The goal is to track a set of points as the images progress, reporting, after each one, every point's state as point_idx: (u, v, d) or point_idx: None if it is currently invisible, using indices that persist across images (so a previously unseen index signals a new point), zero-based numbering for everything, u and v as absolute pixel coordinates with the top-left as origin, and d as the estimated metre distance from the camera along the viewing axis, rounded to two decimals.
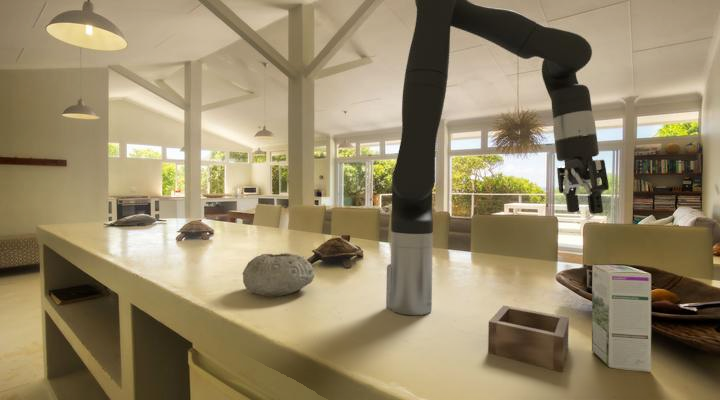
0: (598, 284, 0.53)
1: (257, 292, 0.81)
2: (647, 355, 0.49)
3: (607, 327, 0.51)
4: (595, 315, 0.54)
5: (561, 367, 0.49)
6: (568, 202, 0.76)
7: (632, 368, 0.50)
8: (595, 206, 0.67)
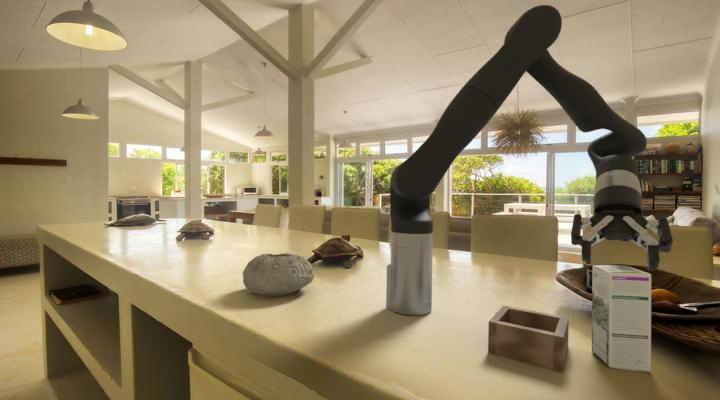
0: (598, 284, 0.53)
1: (257, 292, 0.81)
2: (647, 355, 0.49)
3: (607, 327, 0.51)
4: (595, 315, 0.54)
5: (561, 367, 0.49)
6: (590, 248, 0.61)
7: (632, 368, 0.50)
8: (659, 259, 0.55)
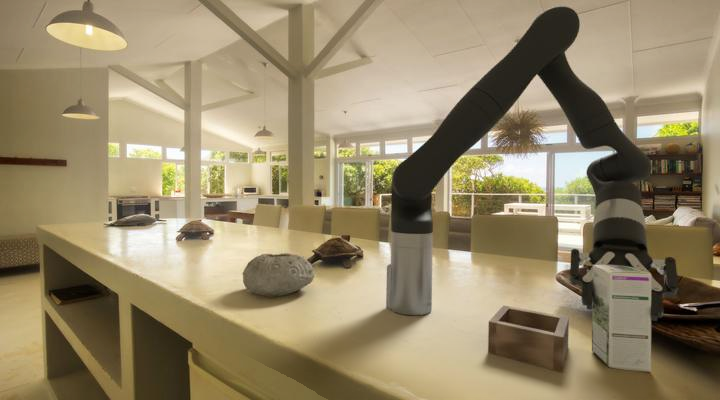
0: (598, 284, 0.53)
1: (257, 292, 0.81)
2: (647, 355, 0.49)
3: (607, 327, 0.51)
4: (595, 315, 0.54)
5: (561, 367, 0.49)
6: (591, 291, 0.54)
7: (632, 368, 0.50)
8: (663, 308, 0.49)
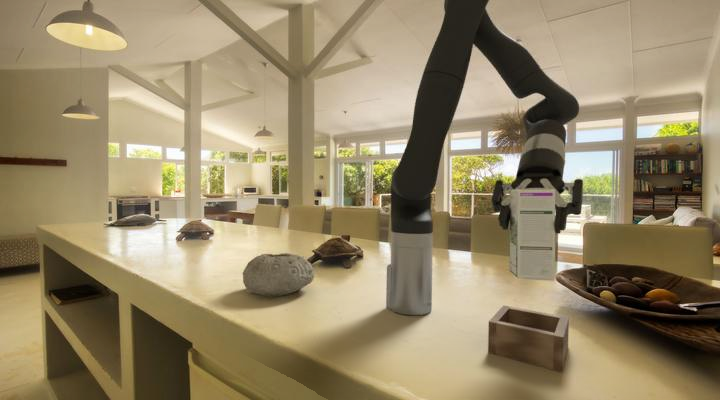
0: (512, 205, 0.57)
1: (257, 292, 0.81)
2: (551, 265, 0.53)
3: (516, 241, 0.54)
4: (511, 235, 0.58)
5: (561, 367, 0.49)
6: (507, 213, 0.58)
7: (538, 278, 0.54)
8: (565, 220, 0.53)
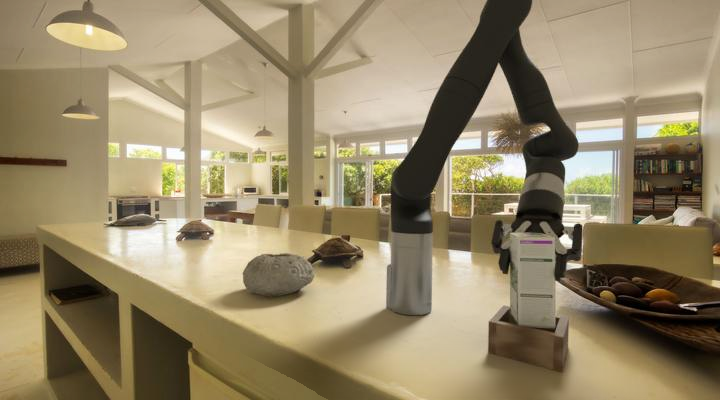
0: (512, 250, 0.57)
1: (257, 292, 0.81)
2: (552, 313, 0.53)
3: (516, 288, 0.54)
4: (511, 279, 0.58)
5: (561, 367, 0.49)
6: (507, 257, 0.58)
7: (539, 325, 0.54)
8: (565, 269, 0.53)
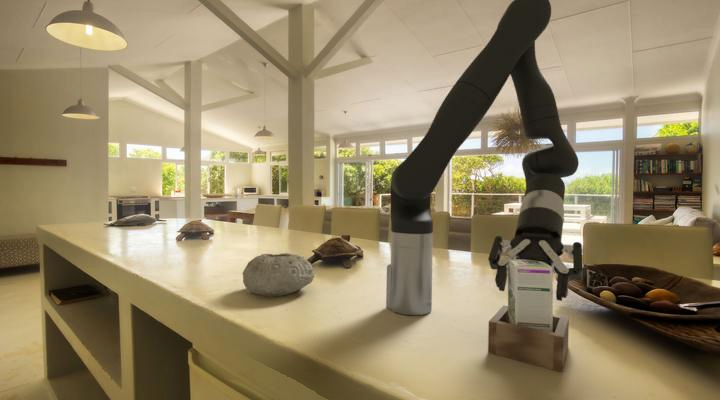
0: (510, 277, 0.57)
1: (257, 292, 0.81)
2: None
3: (514, 316, 0.55)
4: (509, 306, 0.58)
5: (561, 367, 0.49)
6: (503, 274, 0.58)
7: None
8: (567, 288, 0.53)
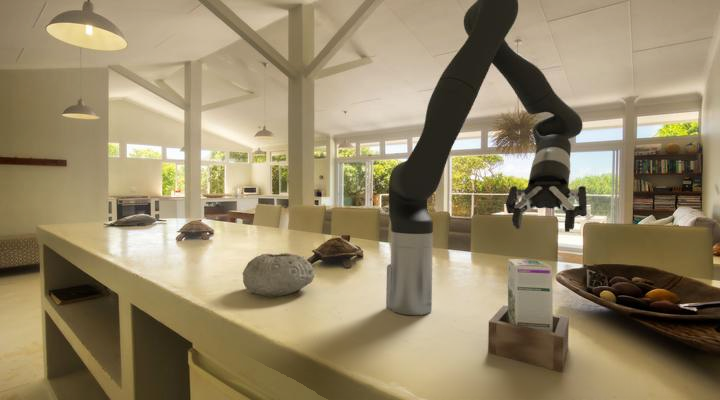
0: (510, 277, 0.57)
1: (257, 292, 0.81)
2: None
3: (514, 316, 0.55)
4: (509, 306, 0.58)
5: (561, 367, 0.49)
6: (519, 214, 0.69)
7: None
8: (573, 221, 0.63)
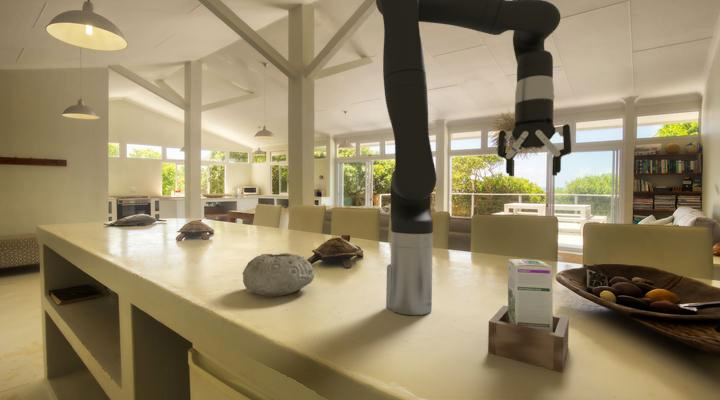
0: (510, 277, 0.57)
1: (257, 292, 0.81)
2: None
3: (514, 316, 0.55)
4: (509, 306, 0.58)
5: (561, 367, 0.49)
6: (511, 165, 0.76)
7: None
8: (560, 168, 0.71)
